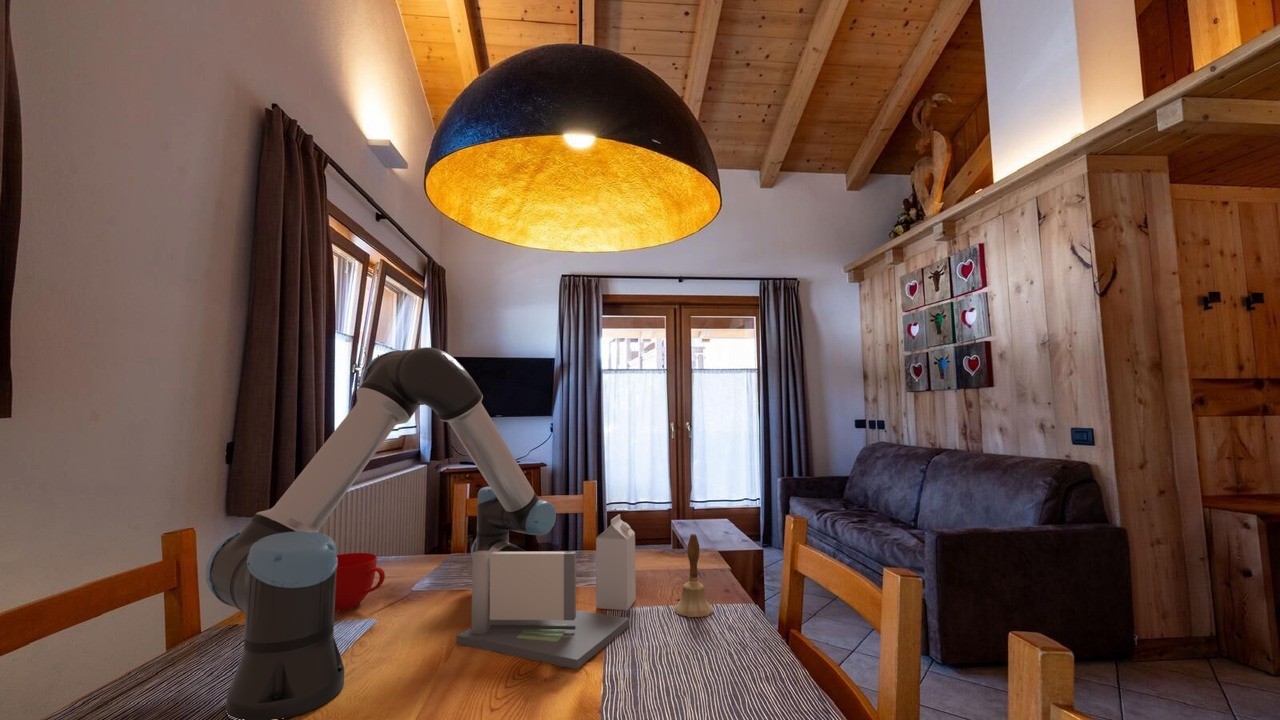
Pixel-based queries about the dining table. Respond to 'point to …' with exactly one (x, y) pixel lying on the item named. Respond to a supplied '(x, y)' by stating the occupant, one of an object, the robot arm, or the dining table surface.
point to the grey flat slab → (550, 638)
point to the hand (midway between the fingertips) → (556, 588)
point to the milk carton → (615, 566)
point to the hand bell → (693, 587)
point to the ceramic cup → (355, 579)
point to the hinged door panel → (523, 589)
